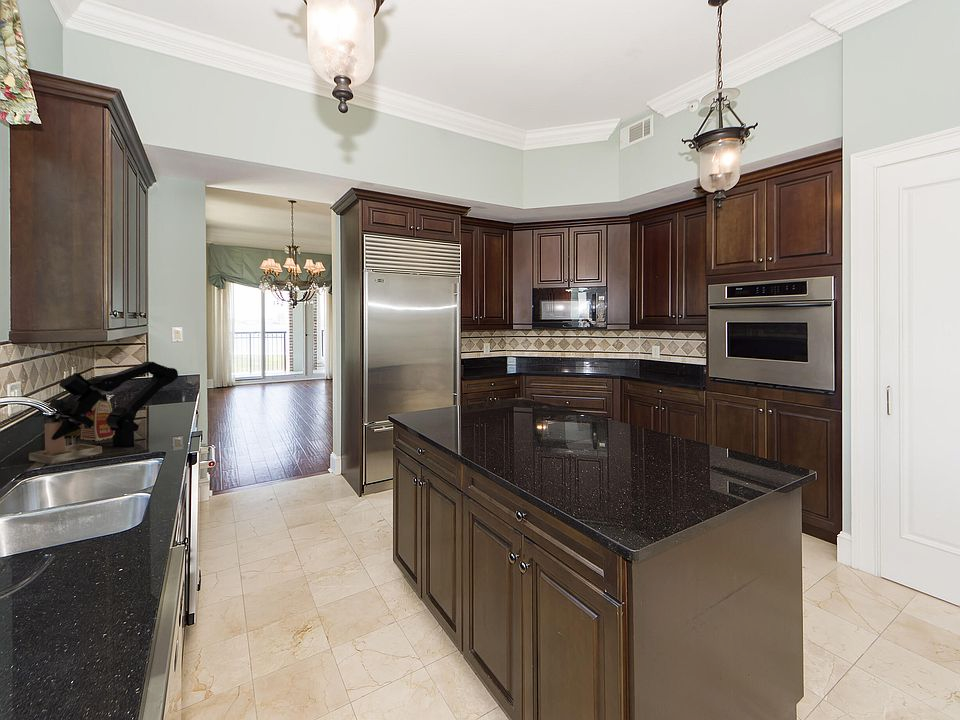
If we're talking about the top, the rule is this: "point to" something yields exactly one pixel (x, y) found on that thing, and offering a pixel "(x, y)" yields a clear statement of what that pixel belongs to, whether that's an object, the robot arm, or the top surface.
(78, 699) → the top surface
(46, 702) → the top surface
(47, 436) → the pink rectangular block
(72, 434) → the potato
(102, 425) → the milk carton
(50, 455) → the beige tray
